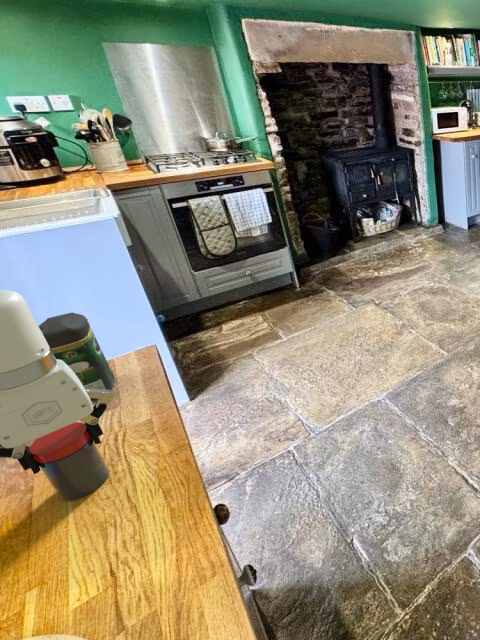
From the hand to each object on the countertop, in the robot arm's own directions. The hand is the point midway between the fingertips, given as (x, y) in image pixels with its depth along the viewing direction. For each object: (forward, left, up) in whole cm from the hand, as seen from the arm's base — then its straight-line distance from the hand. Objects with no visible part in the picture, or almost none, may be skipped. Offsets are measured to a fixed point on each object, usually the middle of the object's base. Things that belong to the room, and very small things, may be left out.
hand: (67, 452), depth 68 cm
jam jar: (0, 0, -8) cm, 8 cm away
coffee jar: (-9, +29, -8) cm, 31 cm away
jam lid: (0, 0, +3) cm, 3 cm away
